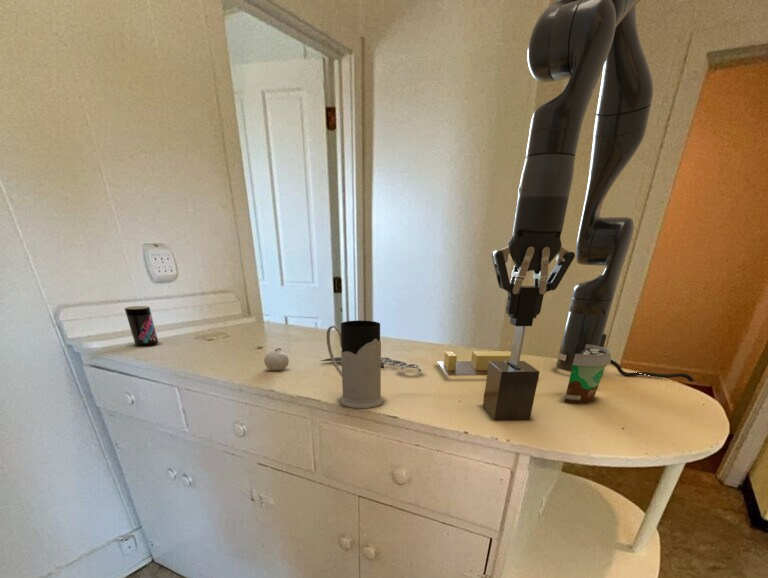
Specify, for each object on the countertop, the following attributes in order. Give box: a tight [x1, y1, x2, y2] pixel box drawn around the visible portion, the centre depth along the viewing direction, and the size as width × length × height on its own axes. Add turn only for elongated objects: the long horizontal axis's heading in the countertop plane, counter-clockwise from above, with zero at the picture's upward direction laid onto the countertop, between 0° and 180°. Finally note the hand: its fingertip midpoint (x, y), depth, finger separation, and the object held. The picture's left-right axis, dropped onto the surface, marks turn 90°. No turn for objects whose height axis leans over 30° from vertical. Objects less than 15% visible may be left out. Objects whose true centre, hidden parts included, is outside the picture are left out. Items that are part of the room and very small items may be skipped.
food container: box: [563, 344, 612, 404], centre depth 89 cm, size 12×6×10 cm, turn 148°
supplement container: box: [124, 305, 159, 348], centre depth 129 cm, size 7×7×10 cm
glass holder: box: [326, 320, 384, 409], centre depth 86 cm, size 9×14×15 cm, turn 47°
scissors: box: [320, 356, 423, 372], centre depth 112 cm, size 28×2×10 cm
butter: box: [470, 350, 511, 370], centre depth 108 cm, size 10×5×4 cm, turn 94°
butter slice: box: [443, 350, 458, 370], centre depth 107 cm, size 2×5×4 cm, turn 4°
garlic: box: [263, 347, 290, 372], centre depth 108 cm, size 6×5×5 cm
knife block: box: [482, 360, 541, 421], centre depth 81 cm, size 7×8×9 cm
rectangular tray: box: [437, 360, 488, 377], centre depth 109 cm, size 22×14×1 cm, turn 94°
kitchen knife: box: [509, 285, 539, 370], centre depth 76 cm, size 3×4×15 cm
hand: (522, 317), depth 75 cm, fingers closed on kitchen knife, 3 cm apart
